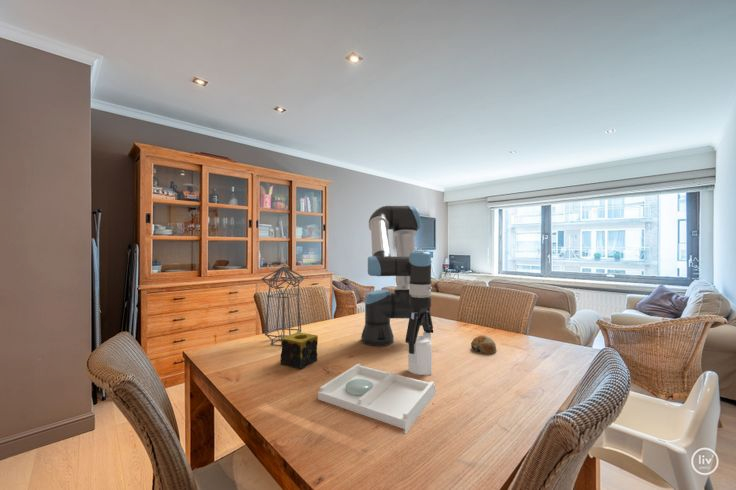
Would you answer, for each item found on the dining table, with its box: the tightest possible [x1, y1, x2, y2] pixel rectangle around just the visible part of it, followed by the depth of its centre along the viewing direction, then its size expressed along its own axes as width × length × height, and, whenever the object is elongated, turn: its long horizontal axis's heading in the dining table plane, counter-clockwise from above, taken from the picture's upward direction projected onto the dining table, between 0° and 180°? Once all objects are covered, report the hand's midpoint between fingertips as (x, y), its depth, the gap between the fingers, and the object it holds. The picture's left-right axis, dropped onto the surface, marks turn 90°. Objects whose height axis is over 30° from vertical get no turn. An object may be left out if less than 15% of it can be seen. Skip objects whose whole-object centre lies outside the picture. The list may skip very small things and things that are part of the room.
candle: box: [279, 331, 319, 370], centre depth 115 cm, size 10×10×10 cm
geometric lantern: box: [260, 266, 306, 347], centre depth 139 cm, size 16×16×35 cm
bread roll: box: [470, 335, 497, 355], centre depth 129 cm, size 10×10×8 cm
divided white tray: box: [317, 363, 436, 435], centre depth 88 cm, size 27×22×4 cm
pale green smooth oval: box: [346, 379, 373, 396], centre depth 92 cm, size 8×8×1 cm
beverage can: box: [407, 335, 433, 376], centre depth 106 cm, size 8×8×12 cm
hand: (420, 356), depth 106 cm, fingers open, 13 cm apart
